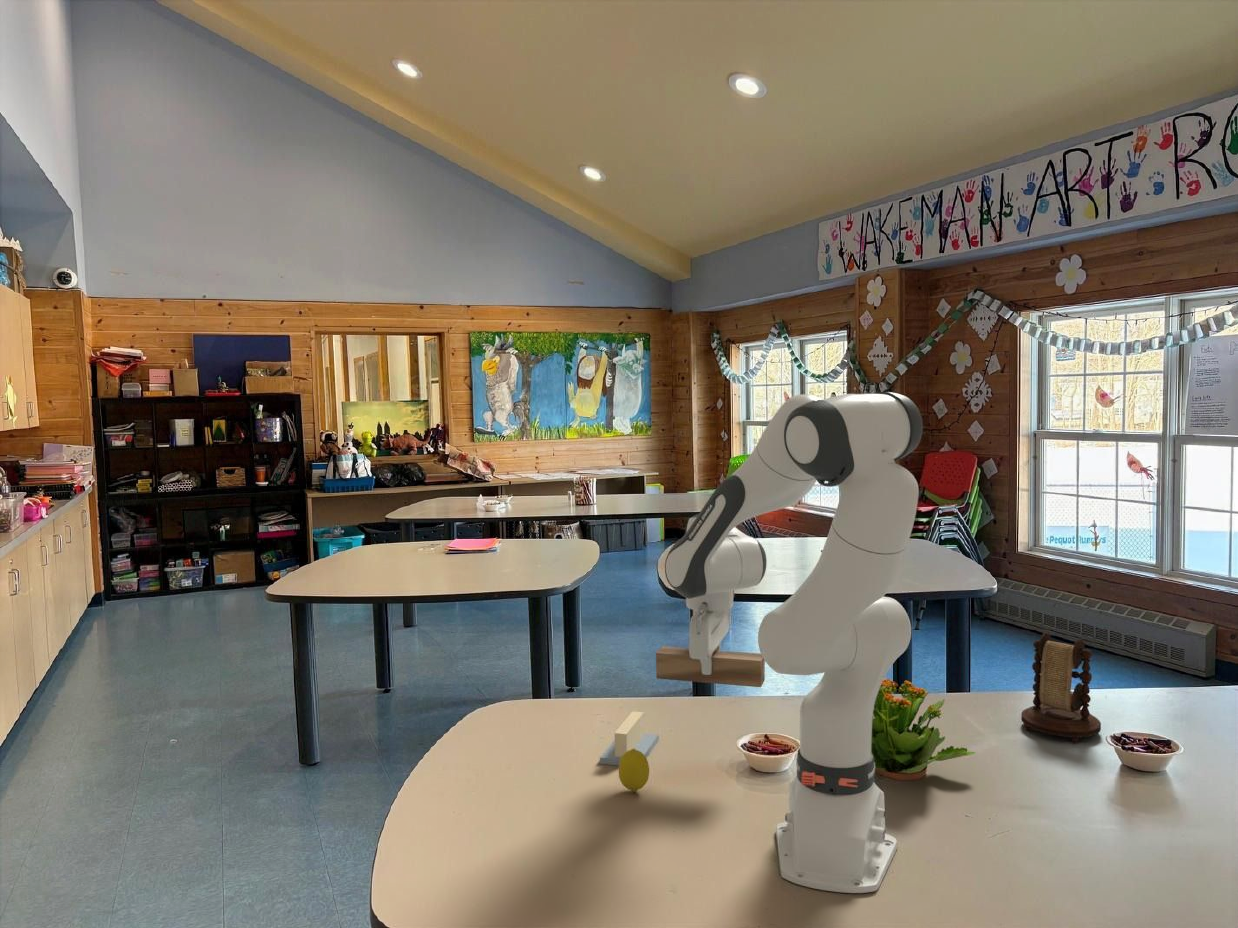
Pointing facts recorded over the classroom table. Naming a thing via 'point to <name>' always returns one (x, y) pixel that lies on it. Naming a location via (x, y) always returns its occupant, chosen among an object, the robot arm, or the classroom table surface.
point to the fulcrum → (629, 740)
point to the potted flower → (906, 733)
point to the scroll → (1061, 691)
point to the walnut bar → (725, 667)
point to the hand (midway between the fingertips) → (710, 668)
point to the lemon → (633, 770)
